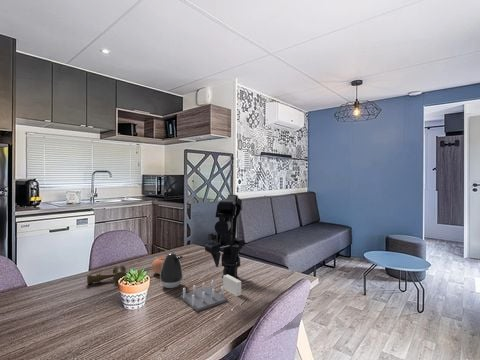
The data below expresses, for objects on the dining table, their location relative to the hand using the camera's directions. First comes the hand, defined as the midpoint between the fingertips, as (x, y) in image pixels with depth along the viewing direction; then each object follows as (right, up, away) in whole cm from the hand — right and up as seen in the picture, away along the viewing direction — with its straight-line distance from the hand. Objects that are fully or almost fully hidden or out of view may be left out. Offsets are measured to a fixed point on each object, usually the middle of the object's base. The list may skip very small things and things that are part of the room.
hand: (225, 264), depth 118 cm
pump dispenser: (-25, -12, +5) cm, 28 cm away
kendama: (-55, -11, +9) cm, 57 cm away
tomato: (-34, -11, +21) cm, 41 cm away
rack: (-9, -12, -8) cm, 17 cm away
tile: (+3, -12, 0) cm, 13 cm away
